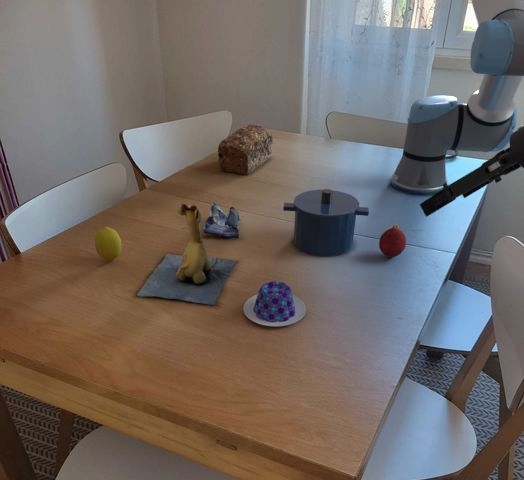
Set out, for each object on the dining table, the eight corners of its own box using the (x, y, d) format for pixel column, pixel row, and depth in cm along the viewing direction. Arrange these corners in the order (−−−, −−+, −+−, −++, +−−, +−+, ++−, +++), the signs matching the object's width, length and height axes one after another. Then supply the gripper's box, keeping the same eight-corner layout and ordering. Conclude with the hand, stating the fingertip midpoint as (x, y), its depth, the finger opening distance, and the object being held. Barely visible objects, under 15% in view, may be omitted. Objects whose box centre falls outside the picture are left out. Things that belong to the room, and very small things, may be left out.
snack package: (259, 227, 135) (222, 214, 140) (257, 204, 130) (219, 192, 135) (229, 253, 128) (191, 238, 133) (226, 230, 123) (187, 215, 129)
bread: (244, 153, 179) (244, 121, 173) (274, 158, 175) (275, 125, 169) (216, 171, 165) (215, 137, 159) (248, 176, 162) (248, 142, 156)
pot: (285, 227, 134) (286, 190, 129) (363, 232, 133) (368, 194, 127) (279, 253, 124) (281, 213, 118) (364, 259, 122) (370, 219, 116)
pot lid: (296, 192, 129) (296, 177, 127) (358, 195, 128) (360, 180, 126) (290, 218, 118) (291, 202, 115) (359, 222, 116) (361, 206, 114)
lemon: (128, 257, 122) (123, 223, 117) (115, 268, 117) (109, 234, 113) (106, 253, 123) (100, 219, 118) (93, 264, 119) (86, 230, 114)
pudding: (245, 294, 110) (244, 271, 106) (304, 295, 109) (306, 272, 106) (241, 328, 100) (241, 304, 97) (306, 330, 100) (308, 306, 97)
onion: (403, 265, 120) (409, 231, 115) (376, 262, 121) (381, 229, 116) (403, 253, 124) (409, 220, 119) (377, 250, 125) (382, 218, 120)
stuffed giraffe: (237, 261, 120) (232, 191, 110) (214, 307, 106) (206, 233, 96) (167, 256, 123) (157, 187, 113) (137, 300, 109) (122, 227, 99)
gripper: (518, 177, 82) (416, 236, 100) (585, 143, 96) (484, 200, 114) (495, 133, 82) (396, 200, 100) (565, 105, 96) (467, 169, 113)
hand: (443, 200), depth 107 cm, fingers open, 13 cm apart
